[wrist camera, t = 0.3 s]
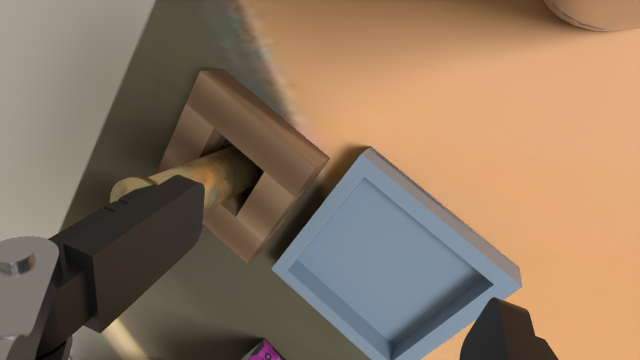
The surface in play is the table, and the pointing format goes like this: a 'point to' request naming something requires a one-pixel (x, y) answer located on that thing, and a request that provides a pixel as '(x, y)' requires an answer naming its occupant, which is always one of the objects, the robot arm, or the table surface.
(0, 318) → the robot arm
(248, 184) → the brass pin
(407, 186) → the slate tray
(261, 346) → the candy bar box
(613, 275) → the table surface
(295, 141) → the walnut pin block
